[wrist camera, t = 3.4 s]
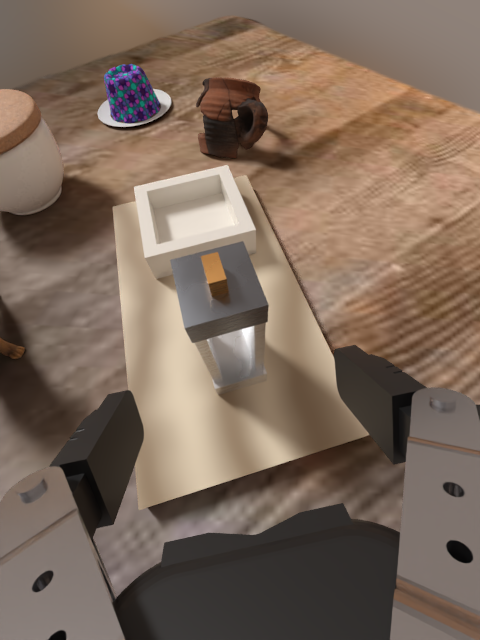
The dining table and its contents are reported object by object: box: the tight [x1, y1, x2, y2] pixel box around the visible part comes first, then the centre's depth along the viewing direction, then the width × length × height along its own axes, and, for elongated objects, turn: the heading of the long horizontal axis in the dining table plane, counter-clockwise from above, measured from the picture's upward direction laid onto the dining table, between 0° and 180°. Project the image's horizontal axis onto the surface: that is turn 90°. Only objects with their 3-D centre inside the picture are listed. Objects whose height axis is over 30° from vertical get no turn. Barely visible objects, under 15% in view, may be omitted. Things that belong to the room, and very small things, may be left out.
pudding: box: [98, 64, 171, 127], centre depth 43 cm, size 12×12×5 cm
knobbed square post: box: [170, 241, 269, 395], centre depth 17 cm, size 4×5×11 cm
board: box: [113, 175, 370, 510], centre depth 26 cm, size 16×30×2 cm, turn 16°
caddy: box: [134, 165, 256, 279], centre depth 28 cm, size 10×10×3 cm
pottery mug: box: [196, 78, 268, 158], centre depth 37 cm, size 12×10×8 cm
